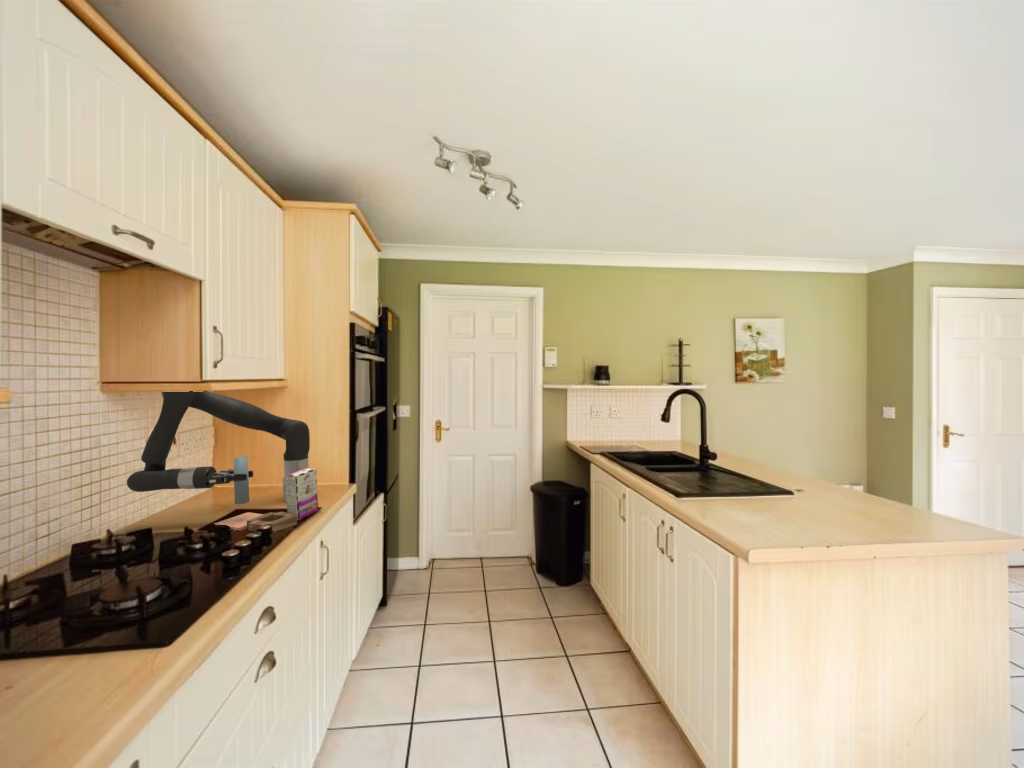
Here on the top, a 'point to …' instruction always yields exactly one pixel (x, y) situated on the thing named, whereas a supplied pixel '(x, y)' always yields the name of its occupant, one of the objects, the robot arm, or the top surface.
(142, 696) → the top surface
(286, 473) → the robot arm
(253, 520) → the pocket block
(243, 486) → the slate peg
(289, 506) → the candy bar box
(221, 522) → the terracotta tile
